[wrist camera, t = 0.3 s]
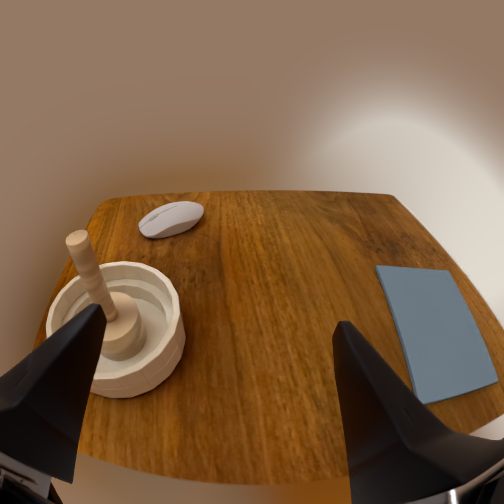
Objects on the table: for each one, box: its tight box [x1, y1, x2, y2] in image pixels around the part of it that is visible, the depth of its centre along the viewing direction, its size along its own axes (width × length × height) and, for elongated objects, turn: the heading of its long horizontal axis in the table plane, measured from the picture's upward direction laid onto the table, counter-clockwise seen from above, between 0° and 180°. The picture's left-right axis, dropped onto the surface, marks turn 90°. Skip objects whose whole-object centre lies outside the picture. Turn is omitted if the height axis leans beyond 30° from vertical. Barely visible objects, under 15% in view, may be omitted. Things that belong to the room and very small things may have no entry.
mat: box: [375, 265, 498, 405], centre depth 27 cm, size 20×14×1 cm
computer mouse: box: [139, 201, 204, 238], centre depth 38 cm, size 6×10×3 cm, turn 122°
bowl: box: [46, 261, 186, 398], centre depth 22 cm, size 13×13×4 cm
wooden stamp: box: [66, 230, 147, 361], centre depth 20 cm, size 6×6×12 cm
